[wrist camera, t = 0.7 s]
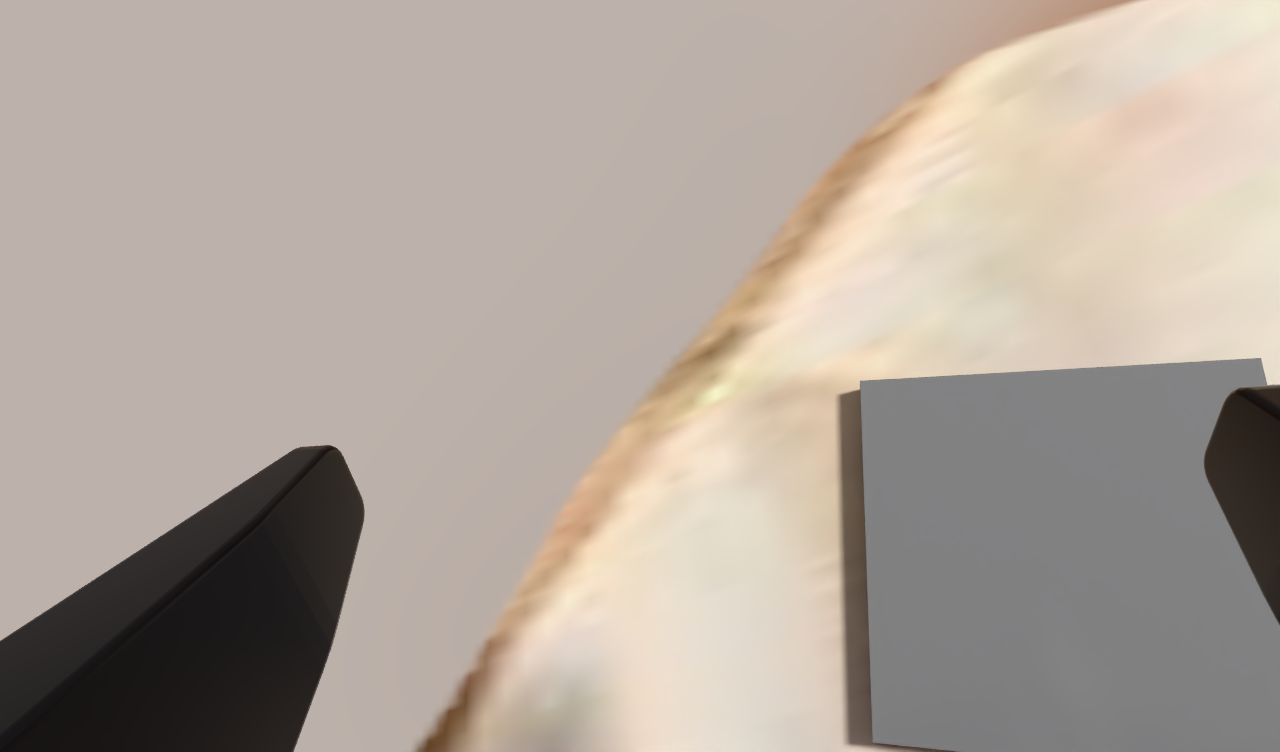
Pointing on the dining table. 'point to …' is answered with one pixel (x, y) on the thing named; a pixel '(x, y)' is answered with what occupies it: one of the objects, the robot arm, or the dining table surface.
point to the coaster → (1061, 565)
